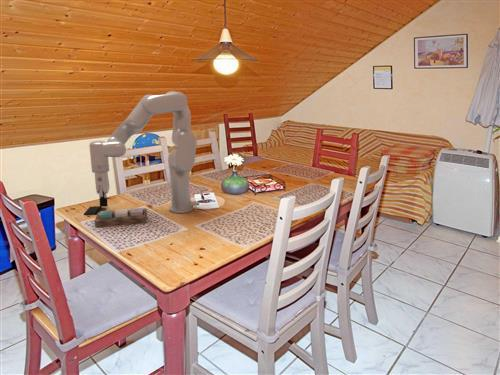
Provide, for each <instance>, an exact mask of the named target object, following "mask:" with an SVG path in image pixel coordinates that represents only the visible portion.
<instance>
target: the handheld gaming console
mask: <svg viewBox="0 0 500 375" xmlns="http://www.w3.org/2000/svg"><path fill="white" fill-rule="evenodd" d="M102 208H103V207H100V205H99V206H95V205H94V206H89V207H88V209H86V210H85V211H84V212H83V216H97V214H98V213H99V212H100V211H101V209H102Z"/></svg>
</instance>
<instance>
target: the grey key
mask: <svg viewBox="0 0 500 375" xmlns="http://www.w3.org/2000/svg"><path fill="white" fill-rule="evenodd" d="M143 209H144V208H143V207H136V208H130V210H131V211H130V216H141V215H143Z"/></svg>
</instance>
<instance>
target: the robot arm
mask: <svg viewBox="0 0 500 375" xmlns="http://www.w3.org/2000/svg"><path fill="white" fill-rule="evenodd" d="M169 113H172V117H173V118H172V119H173V121H172V122H173V123H172V132H171V133H172V134H171V142H172V143H173V145H174V146H176V149H173V150H171V151H170V152H169V154H168V157H167V162H168V168H169V177H170V178H169V179H170V180H169V181H170V194H171V195H170V196H171V197H170V198H171V205H170V206H169V207H168V211H170V212H171V213H174V214H184V213H190V212H192V211H193V210H194V208H195V207H196V206H200V201H197V200H193V201H192V199H191V192H190V191H191V190H190V189H191V188H190V187H191V186H190V173H189V172H190V171H192V169H193V167H194V166H195V162H196V154H197V153H196V152H197V138H196V134H194V132H193V131H191V126H192V124H191V123H192V115H191V114H192V113H191V109H190V107H189V105H188V98H187V96H186V95H185V94H184V93H183V92H180V91H174V90H171V91H167V92H166V93H164V94H145V95H144V96H143V97H142V98H141V99H140V101H139V102H138V103H137V104H136V106H135V107H134V108H133V109H132V111H131V112H130V114H128V116H127V117H126V119H124V120H123V121H122V122H121V123H120V125H119V126H118V127H117V128H116V129H115V130H114V131H113V133H112V134H111V135H110V136H109V137H108V139H107V141H104V140H95V141H90V143H89V154H90V165H91V173H94V181H95V191H96V193H97V195H98V197H99V206H100V207H102V208H103V207H104V208H105V207H108V197H107V194H108V193H109V192H110V181H109V174H108V173H109V172H110V164H109V163H110V162H109V158H121V157H123V156H125V154H126V153H127V152H126V151H127V147H126V143H127V142H128V141H129V139H131V138H132V137H133V136H134V135H135V134H137V133H140V132H141V131H142V130H143V129H144V128H145V126H146V125H147V124H148V123H149V122H150V120H151V118H153V116H154V115H162V114H164V115H165V114H169ZM194 206H195V207H194Z"/></svg>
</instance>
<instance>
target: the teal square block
mask: <svg viewBox="0 0 500 375" xmlns="http://www.w3.org/2000/svg"><path fill="white" fill-rule="evenodd" d="M113 211H114V210H113V209H112V210H99V212H100V214H99V219H105V218H113Z"/></svg>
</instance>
